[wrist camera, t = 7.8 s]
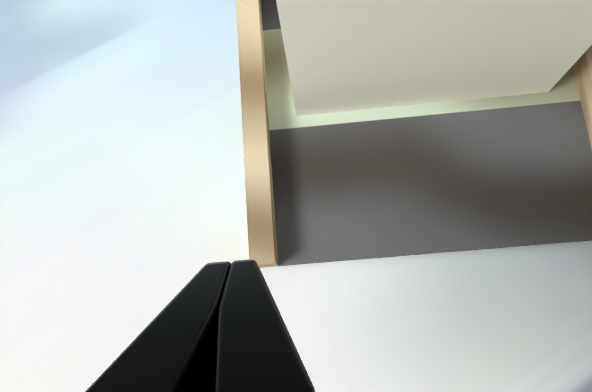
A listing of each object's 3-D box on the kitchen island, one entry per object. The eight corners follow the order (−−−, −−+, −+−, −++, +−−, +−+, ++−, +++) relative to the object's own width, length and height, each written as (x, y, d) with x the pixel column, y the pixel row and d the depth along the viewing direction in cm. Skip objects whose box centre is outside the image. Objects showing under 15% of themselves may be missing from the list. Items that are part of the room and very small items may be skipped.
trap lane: (634, 236, 21) (655, 230, 19) (254, 268, 22) (249, 263, 20) (564, -56, 24) (577, -79, 23) (239, -20, 25) (234, -40, 24)
